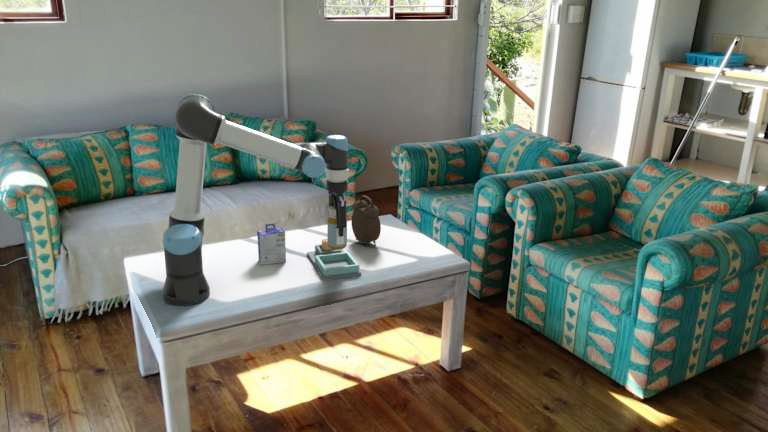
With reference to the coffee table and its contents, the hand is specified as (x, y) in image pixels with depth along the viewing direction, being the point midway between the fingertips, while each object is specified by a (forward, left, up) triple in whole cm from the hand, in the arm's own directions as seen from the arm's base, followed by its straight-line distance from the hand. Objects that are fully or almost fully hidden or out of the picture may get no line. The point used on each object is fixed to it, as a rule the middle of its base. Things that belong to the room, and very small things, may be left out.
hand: (337, 240), depth 242 cm
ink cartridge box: (-21, +15, -12) cm, 28 cm away
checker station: (0, +5, -12) cm, 13 cm away
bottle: (0, 0, -3) cm, 3 cm away
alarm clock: (+19, +22, -12) cm, 31 cm away
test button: (0, +12, -10) cm, 15 cm away
